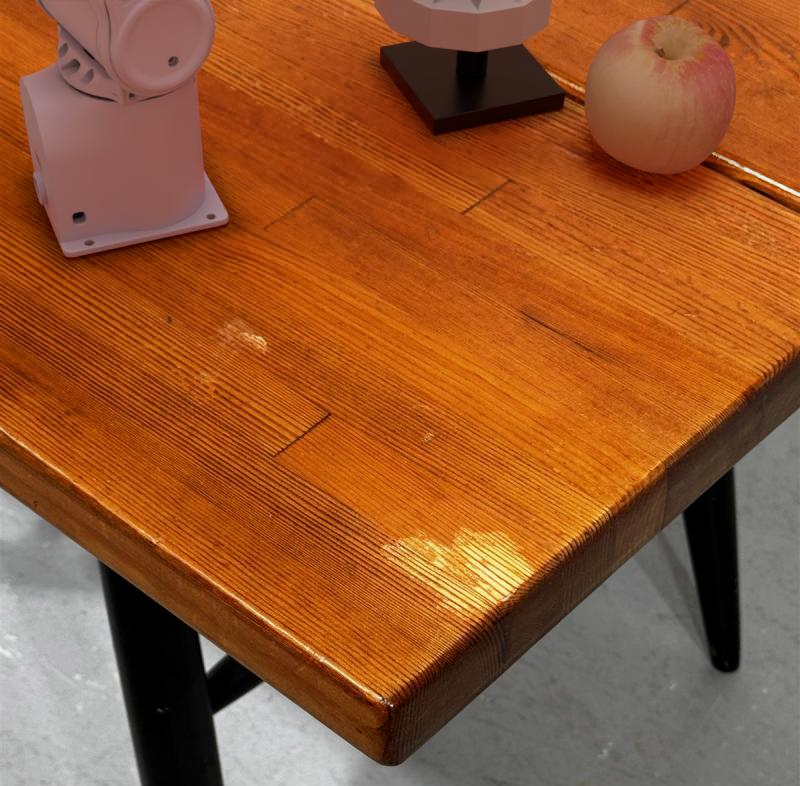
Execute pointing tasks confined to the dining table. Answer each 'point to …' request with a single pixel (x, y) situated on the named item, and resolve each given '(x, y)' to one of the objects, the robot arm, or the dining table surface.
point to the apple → (660, 95)
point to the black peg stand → (470, 84)
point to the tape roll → (466, 21)
